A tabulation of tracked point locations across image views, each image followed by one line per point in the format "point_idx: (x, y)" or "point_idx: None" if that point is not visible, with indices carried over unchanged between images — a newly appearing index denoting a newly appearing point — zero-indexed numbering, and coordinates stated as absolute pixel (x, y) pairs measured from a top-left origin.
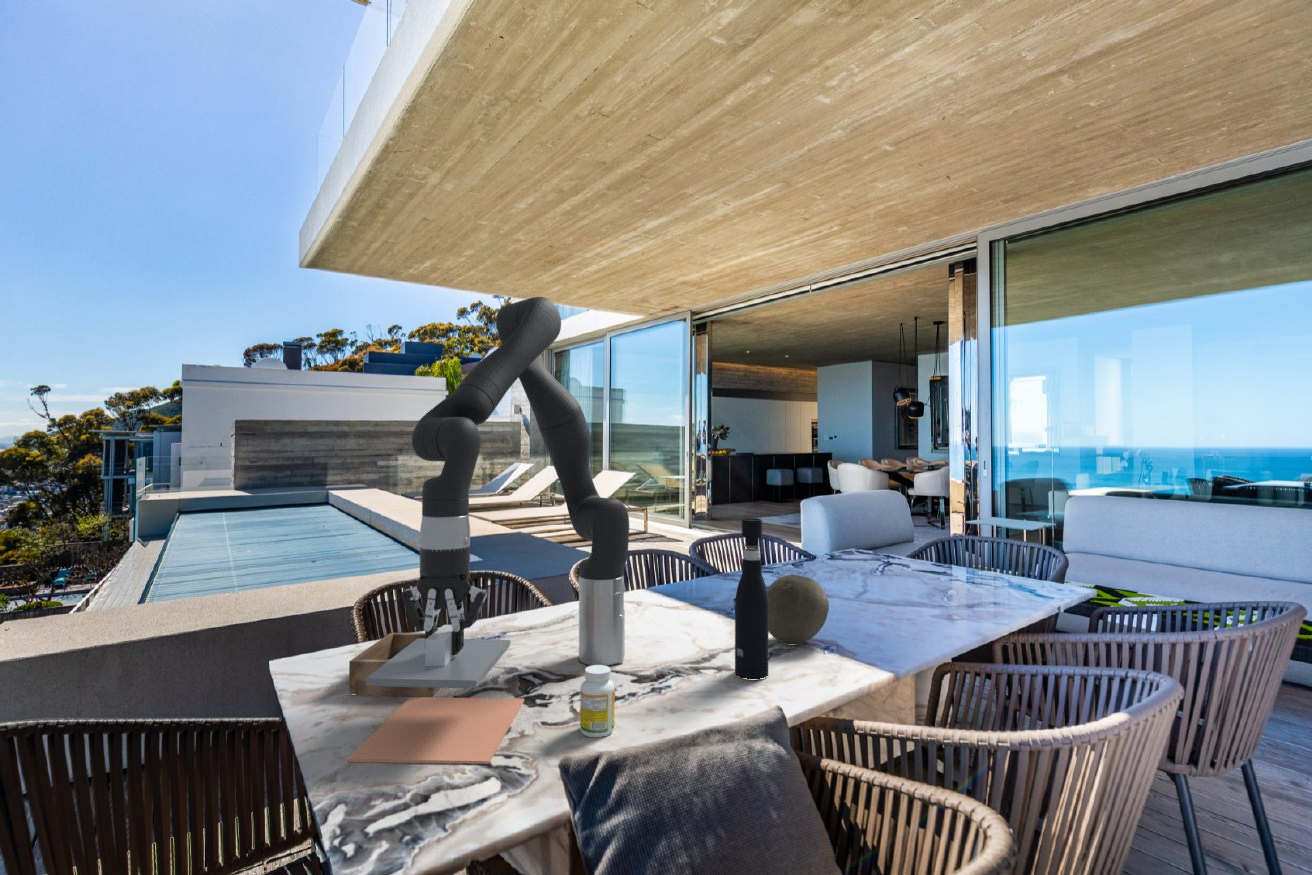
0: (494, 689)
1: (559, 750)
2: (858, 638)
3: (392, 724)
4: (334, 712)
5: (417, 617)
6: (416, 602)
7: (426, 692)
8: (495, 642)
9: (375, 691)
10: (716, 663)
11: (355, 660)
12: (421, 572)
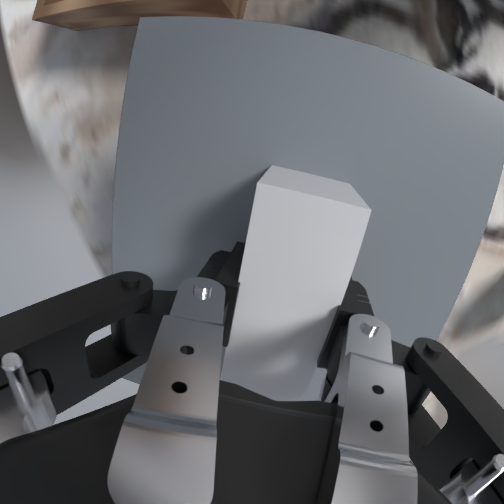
0: (384, 13)
1: (473, 326)
2: None
3: None
4: (72, 105)
5: (123, 372)
6: (52, 368)
7: None
8: (471, 120)
9: (114, 24)
10: None
11: (40, 12)
12: None
